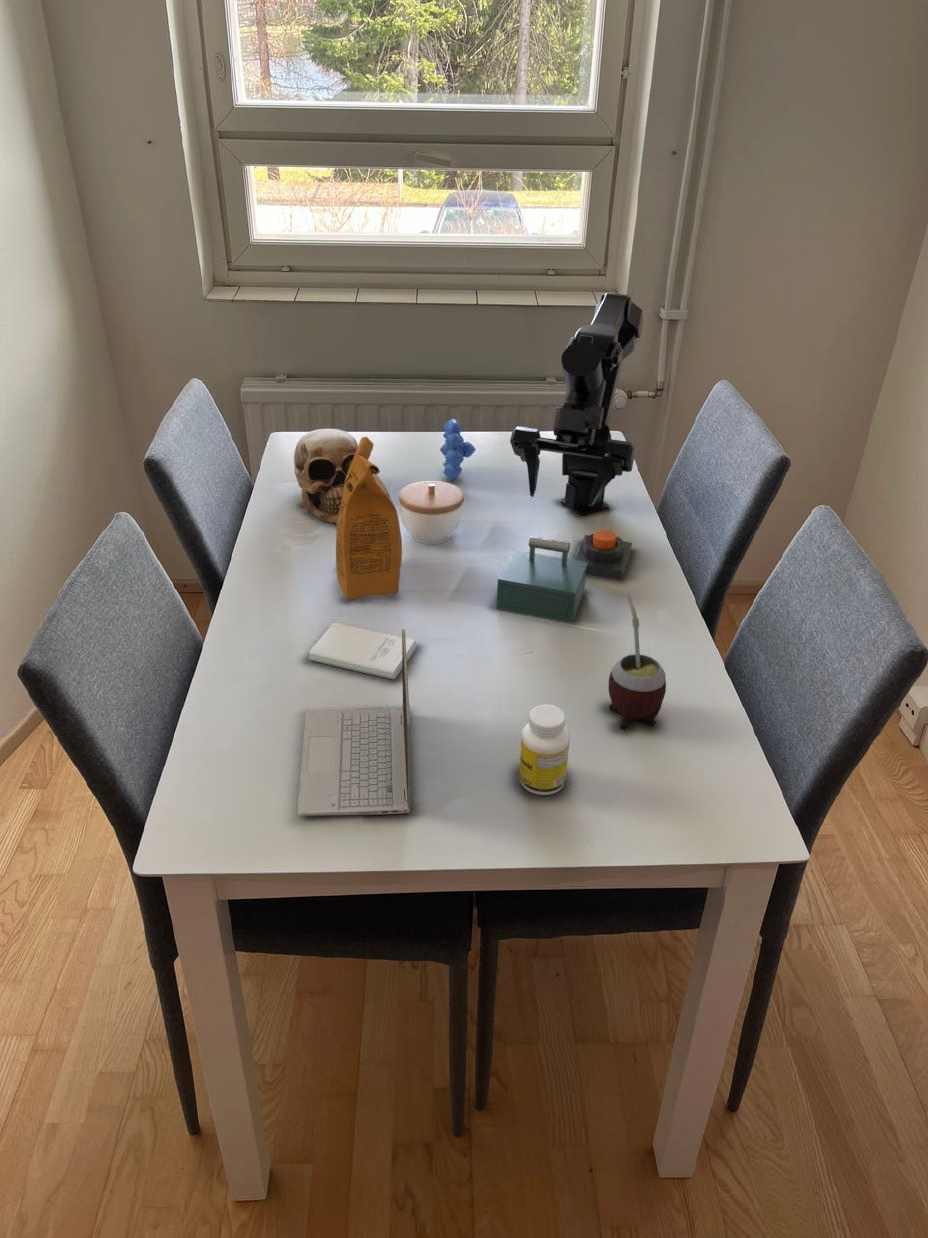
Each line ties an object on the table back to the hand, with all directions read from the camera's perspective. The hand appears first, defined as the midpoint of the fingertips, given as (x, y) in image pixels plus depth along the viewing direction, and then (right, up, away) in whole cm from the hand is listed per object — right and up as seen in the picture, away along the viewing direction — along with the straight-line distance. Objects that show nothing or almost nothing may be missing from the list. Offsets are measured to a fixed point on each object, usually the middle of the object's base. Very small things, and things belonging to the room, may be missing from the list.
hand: (560, 500), depth 144 cm
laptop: (-28, -35, -32) cm, 55 cm away
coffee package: (-29, -12, +3) cm, 32 cm away
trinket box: (-20, -4, +16) cm, 26 cm away
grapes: (-16, +8, +35) cm, 39 cm away
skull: (-38, +3, +26) cm, 46 cm away
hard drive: (-29, -23, -14) cm, 39 cm away
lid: (-3, -11, -3) cm, 12 cm away
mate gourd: (+6, -30, -23) cm, 39 cm away
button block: (+8, -9, +10) cm, 15 cm away
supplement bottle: (-6, -37, -34) cm, 51 cm away
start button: (+8, -6, +8) cm, 13 cm away
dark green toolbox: (-3, -15, -1) cm, 16 cm away
